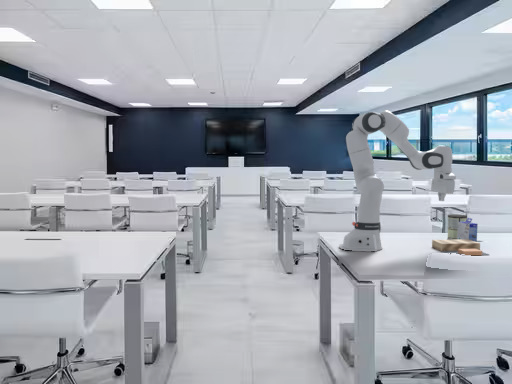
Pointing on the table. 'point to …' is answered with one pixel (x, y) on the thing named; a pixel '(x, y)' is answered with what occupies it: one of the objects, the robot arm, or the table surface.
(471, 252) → the block
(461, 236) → the ink cartridge box
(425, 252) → the table surface
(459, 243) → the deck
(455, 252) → the mat
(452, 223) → the coffee can
